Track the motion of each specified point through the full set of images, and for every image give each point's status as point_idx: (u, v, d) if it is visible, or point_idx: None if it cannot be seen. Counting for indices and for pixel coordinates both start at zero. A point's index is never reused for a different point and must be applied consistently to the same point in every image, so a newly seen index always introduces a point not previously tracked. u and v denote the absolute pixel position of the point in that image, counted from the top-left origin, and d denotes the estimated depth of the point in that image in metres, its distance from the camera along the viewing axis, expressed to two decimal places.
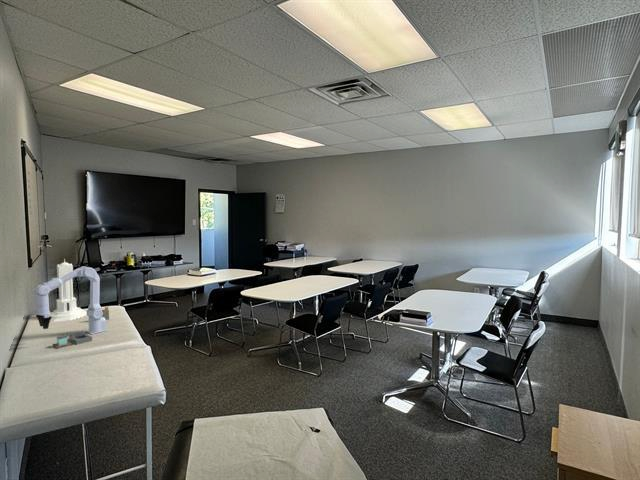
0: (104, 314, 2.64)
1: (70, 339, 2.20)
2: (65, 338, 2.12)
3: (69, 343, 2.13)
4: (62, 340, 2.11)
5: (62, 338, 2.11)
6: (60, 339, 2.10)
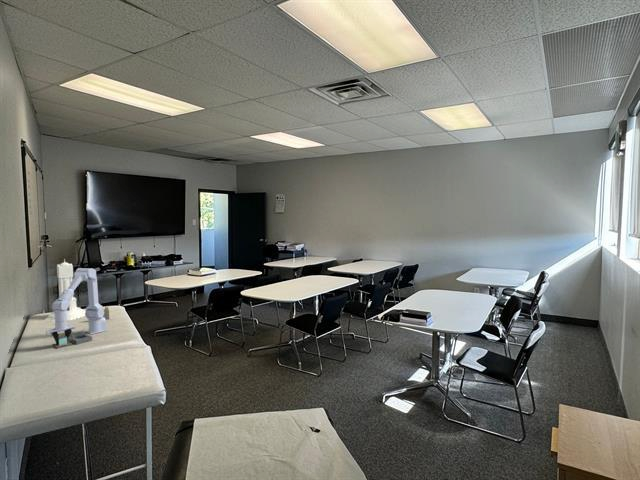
0: (104, 314, 2.64)
1: (70, 339, 2.20)
2: (65, 338, 2.12)
3: (69, 343, 2.13)
4: (62, 340, 2.11)
5: (62, 338, 2.11)
6: (60, 339, 2.10)
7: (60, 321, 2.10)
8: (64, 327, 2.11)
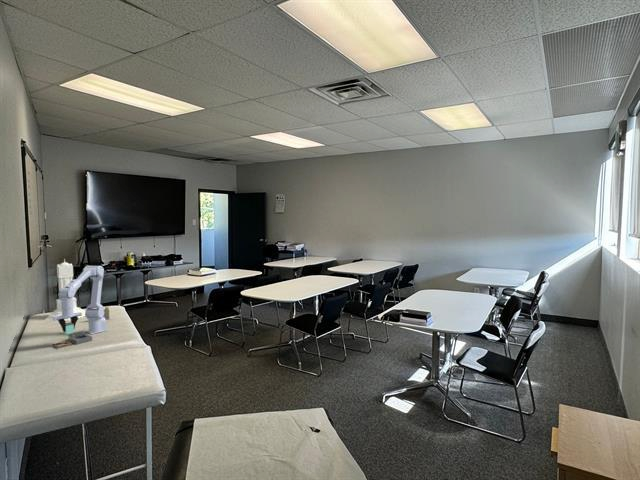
0: (104, 314, 2.64)
1: (70, 339, 2.20)
2: (72, 325, 2.15)
3: (69, 343, 2.13)
4: (69, 327, 2.14)
5: (69, 325, 2.14)
6: (67, 326, 2.13)
7: (67, 308, 2.12)
8: (71, 314, 2.14)
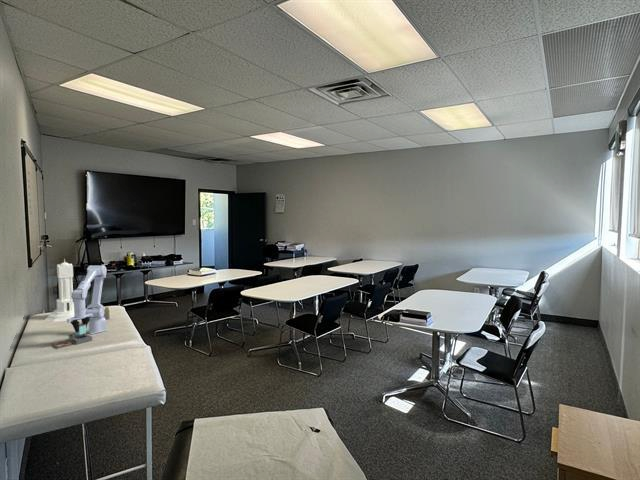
0: (105, 314, 2.65)
1: (70, 339, 2.20)
2: (84, 326, 2.21)
3: (69, 343, 2.13)
4: (82, 328, 2.19)
5: (82, 326, 2.19)
6: (80, 327, 2.18)
7: (81, 309, 2.18)
8: (84, 315, 2.19)
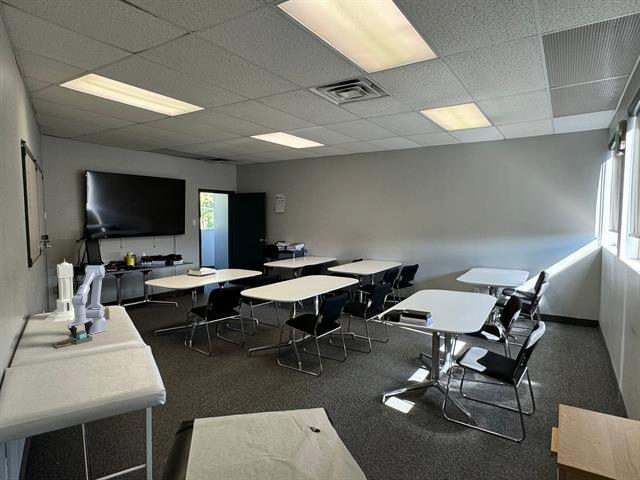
0: (105, 314, 2.65)
1: (70, 339, 2.20)
2: (85, 333, 2.21)
3: (69, 343, 2.13)
4: (82, 335, 2.20)
5: (82, 333, 2.20)
6: (81, 334, 2.19)
7: (81, 314, 2.18)
8: (84, 320, 2.20)
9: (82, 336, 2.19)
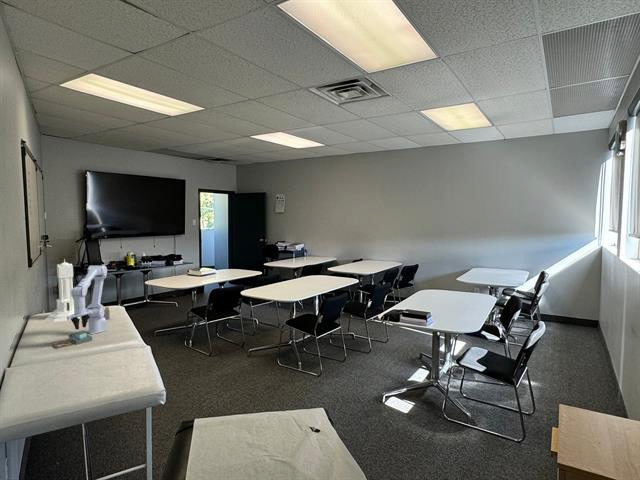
0: (105, 314, 2.65)
1: (70, 339, 2.20)
2: (85, 333, 2.21)
3: (69, 343, 2.13)
4: (82, 335, 2.20)
5: (82, 333, 2.20)
6: (81, 334, 2.19)
7: (81, 306, 2.17)
8: (84, 312, 2.19)
9: (82, 336, 2.19)
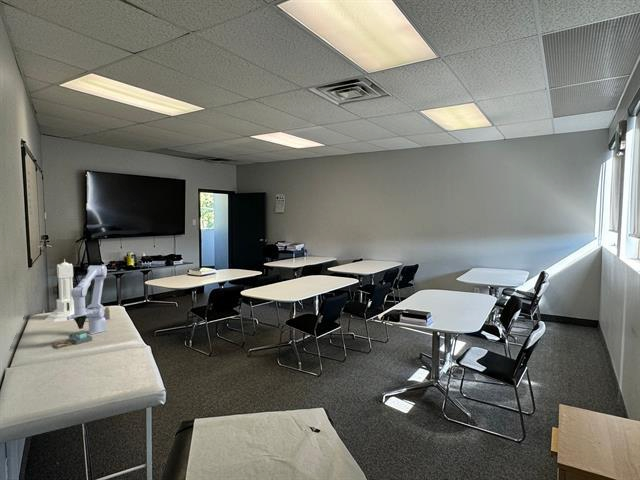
0: (105, 314, 2.65)
1: (70, 339, 2.20)
2: (85, 333, 2.21)
3: (69, 343, 2.13)
4: (82, 335, 2.20)
5: (82, 333, 2.20)
6: (81, 334, 2.19)
7: (81, 307, 2.17)
8: (84, 312, 2.19)
9: (82, 336, 2.19)
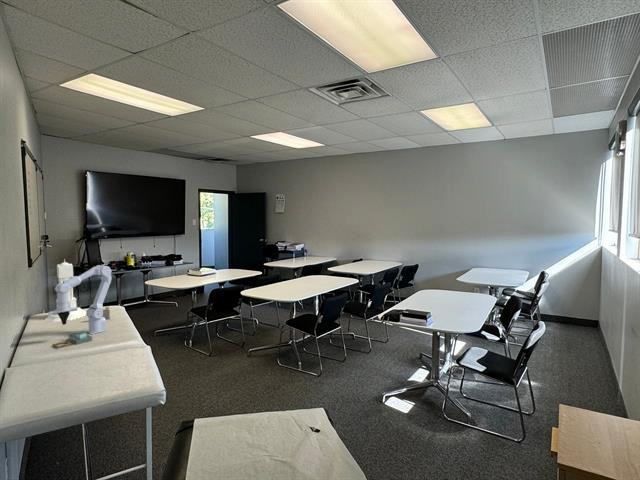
0: (105, 314, 2.65)
1: (70, 339, 2.20)
2: (85, 333, 2.21)
3: (69, 343, 2.13)
4: (82, 335, 2.20)
5: (82, 333, 2.20)
6: (81, 334, 2.19)
7: (60, 303, 2.18)
8: (66, 309, 2.20)
9: (82, 336, 2.19)
